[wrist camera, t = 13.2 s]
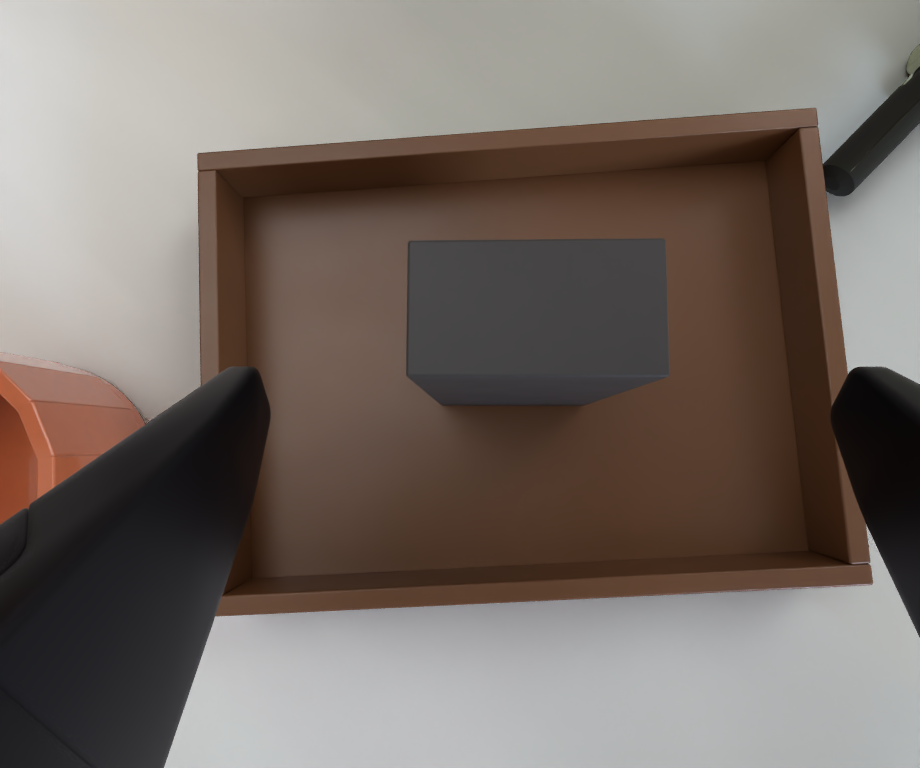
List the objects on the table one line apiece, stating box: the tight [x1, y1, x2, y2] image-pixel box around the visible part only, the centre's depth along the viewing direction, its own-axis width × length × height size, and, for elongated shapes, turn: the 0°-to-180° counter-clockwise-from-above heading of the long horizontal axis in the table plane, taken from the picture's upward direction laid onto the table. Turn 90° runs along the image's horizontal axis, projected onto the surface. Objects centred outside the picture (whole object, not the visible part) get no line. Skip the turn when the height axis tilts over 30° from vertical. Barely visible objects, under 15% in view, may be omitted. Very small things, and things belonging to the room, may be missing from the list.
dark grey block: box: [406, 238, 670, 406], centre depth 15 cm, size 3×5×9 cm, turn 90°
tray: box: [198, 108, 873, 616], centre depth 19 cm, size 14×19×3 cm
